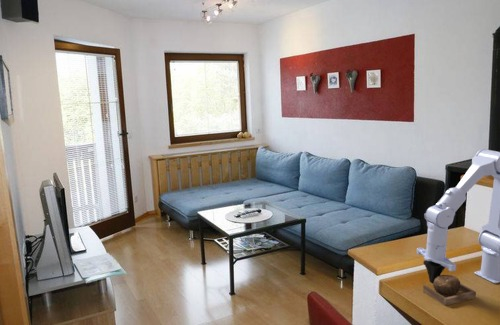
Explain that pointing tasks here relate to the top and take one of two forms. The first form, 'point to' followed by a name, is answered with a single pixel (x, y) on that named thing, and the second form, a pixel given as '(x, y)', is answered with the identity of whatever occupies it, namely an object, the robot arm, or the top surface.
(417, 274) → the top surface
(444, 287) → the mushroom
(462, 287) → the walnut frame
